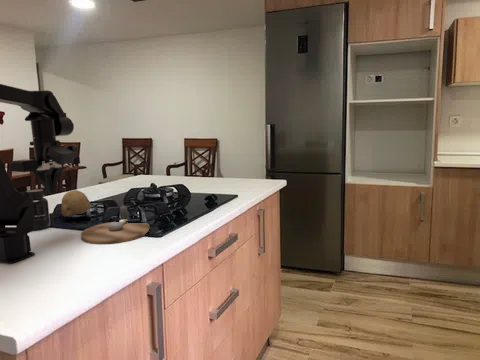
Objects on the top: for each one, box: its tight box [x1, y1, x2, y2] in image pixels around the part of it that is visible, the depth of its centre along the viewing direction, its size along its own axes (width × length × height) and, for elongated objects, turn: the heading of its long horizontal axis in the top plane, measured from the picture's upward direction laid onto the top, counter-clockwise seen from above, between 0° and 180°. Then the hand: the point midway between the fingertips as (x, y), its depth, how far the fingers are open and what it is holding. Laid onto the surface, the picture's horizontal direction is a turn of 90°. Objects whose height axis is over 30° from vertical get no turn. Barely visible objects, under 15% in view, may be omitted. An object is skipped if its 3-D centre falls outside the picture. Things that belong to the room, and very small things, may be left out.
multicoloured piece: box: [108, 205, 129, 230], centre depth 113 cm, size 10×4×5 cm, turn 177°
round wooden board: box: [80, 221, 150, 245], centre depth 110 cm, size 19×19×1 cm
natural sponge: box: [61, 189, 92, 217], centre depth 128 cm, size 9×9×10 cm
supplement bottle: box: [25, 189, 51, 231], centre depth 119 cm, size 7×7×12 cm
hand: (50, 192), depth 107 cm, fingers closed
